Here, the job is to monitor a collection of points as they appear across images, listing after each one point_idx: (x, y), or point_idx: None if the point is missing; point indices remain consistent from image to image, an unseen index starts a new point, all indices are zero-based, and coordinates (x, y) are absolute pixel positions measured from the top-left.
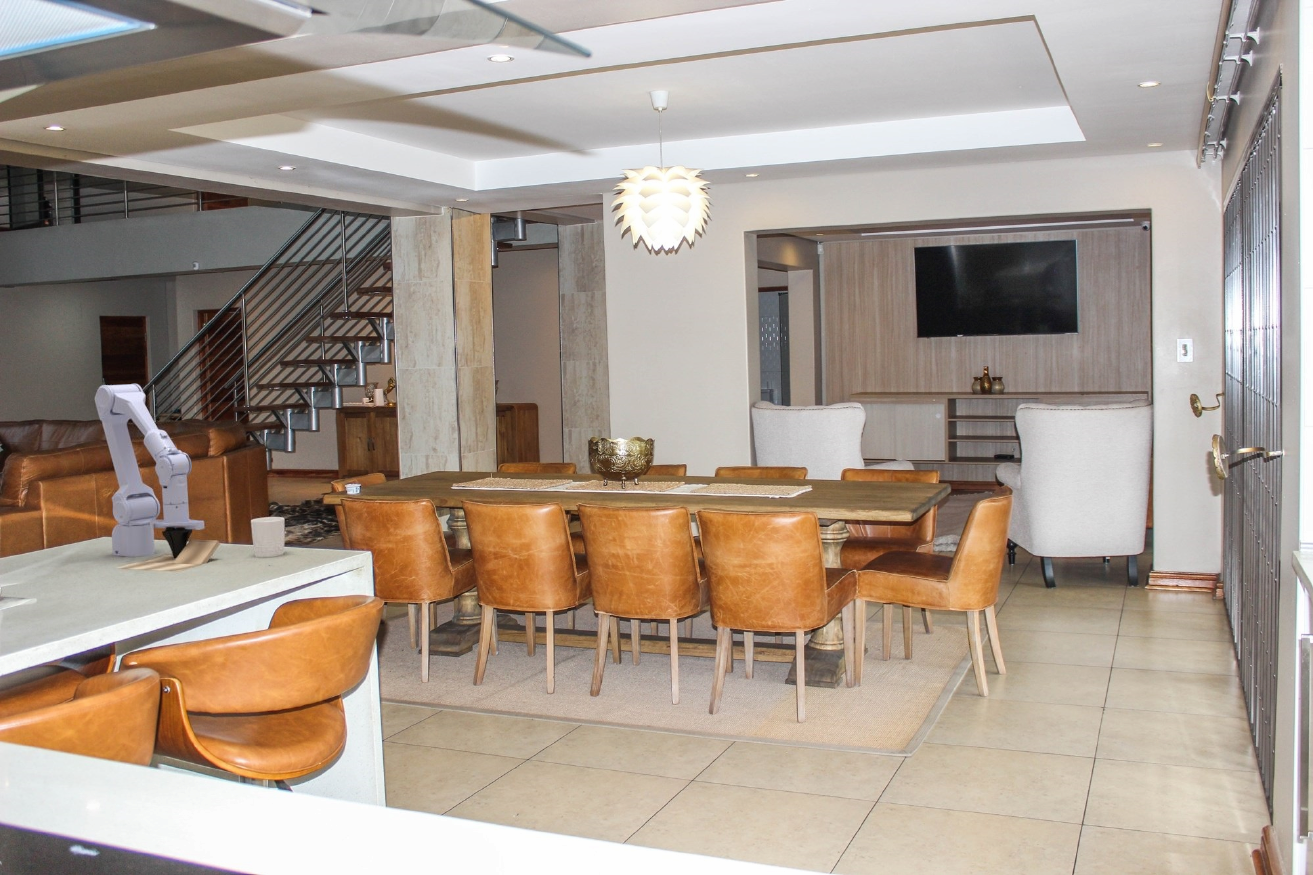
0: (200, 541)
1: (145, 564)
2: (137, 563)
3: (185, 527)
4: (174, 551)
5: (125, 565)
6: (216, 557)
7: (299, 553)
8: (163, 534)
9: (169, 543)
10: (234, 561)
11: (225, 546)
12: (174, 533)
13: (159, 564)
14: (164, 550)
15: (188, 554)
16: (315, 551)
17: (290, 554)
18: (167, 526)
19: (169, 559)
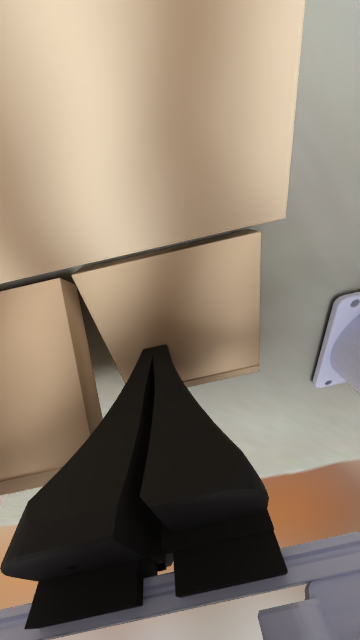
0: (12, 478)
1: (172, 158)
2: (258, 163)
3: (32, 631)
4: (153, 366)
5: (299, 27)
6: None
7: (6, 506)
8: (225, 455)
9: (177, 394)
10: None
11: None
12: (60, 510)
13: (82, 207)
14: (353, 415)
15: (11, 363)
16: (5, 519)
17: (9, 498)
18: (283, 585)
19: (164, 323)
